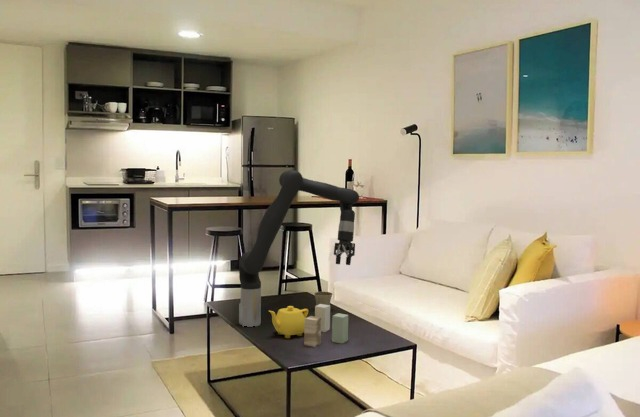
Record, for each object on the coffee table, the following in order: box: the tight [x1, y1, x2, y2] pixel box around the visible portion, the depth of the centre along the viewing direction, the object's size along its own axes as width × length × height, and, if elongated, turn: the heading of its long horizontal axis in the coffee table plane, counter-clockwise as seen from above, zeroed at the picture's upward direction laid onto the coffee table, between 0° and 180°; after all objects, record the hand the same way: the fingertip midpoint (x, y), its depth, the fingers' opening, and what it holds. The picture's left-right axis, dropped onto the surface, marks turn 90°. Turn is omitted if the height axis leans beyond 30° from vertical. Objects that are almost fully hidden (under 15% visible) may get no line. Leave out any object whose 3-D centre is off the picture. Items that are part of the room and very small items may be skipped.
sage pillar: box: [331, 312, 349, 344], centre depth 235 cm, size 5×5×11 cm
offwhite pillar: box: [314, 304, 331, 333], centre depth 251 cm, size 5×5×11 cm
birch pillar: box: [303, 315, 322, 348], centre depth 230 cm, size 5×5×11 cm
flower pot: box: [313, 291, 333, 306], centre depth 284 cm, size 9×9×9 cm
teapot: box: [268, 305, 309, 339], centre depth 243 cm, size 13×20×12 cm
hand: (342, 264), depth 268 cm, fingers open, 8 cm apart
